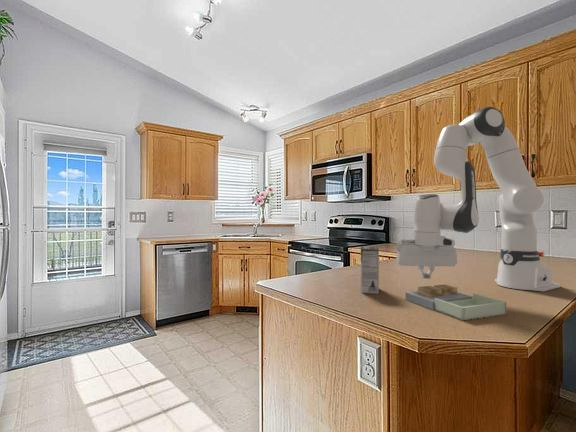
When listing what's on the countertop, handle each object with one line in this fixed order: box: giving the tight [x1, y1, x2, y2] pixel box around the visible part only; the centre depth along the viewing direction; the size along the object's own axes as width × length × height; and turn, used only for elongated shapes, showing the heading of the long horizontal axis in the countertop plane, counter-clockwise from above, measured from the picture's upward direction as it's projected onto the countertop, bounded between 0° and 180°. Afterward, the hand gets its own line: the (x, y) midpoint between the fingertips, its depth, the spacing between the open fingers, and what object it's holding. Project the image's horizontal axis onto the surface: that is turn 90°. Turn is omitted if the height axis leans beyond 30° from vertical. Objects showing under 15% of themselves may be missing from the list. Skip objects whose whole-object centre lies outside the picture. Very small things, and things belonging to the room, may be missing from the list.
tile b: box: [417, 285, 442, 297], centre depth 105 cm, size 5×5×2 cm
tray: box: [433, 293, 507, 322], centre depth 94 cm, size 16×10×4 cm, turn 110°
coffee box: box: [360, 246, 380, 295], centre depth 120 cm, size 9×6×16 cm
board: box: [405, 290, 473, 311], centre depth 105 cm, size 16×12×2 cm
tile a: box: [433, 284, 458, 295], centre depth 107 cm, size 5×5×2 cm
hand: (425, 278), depth 115 cm, fingers closed
